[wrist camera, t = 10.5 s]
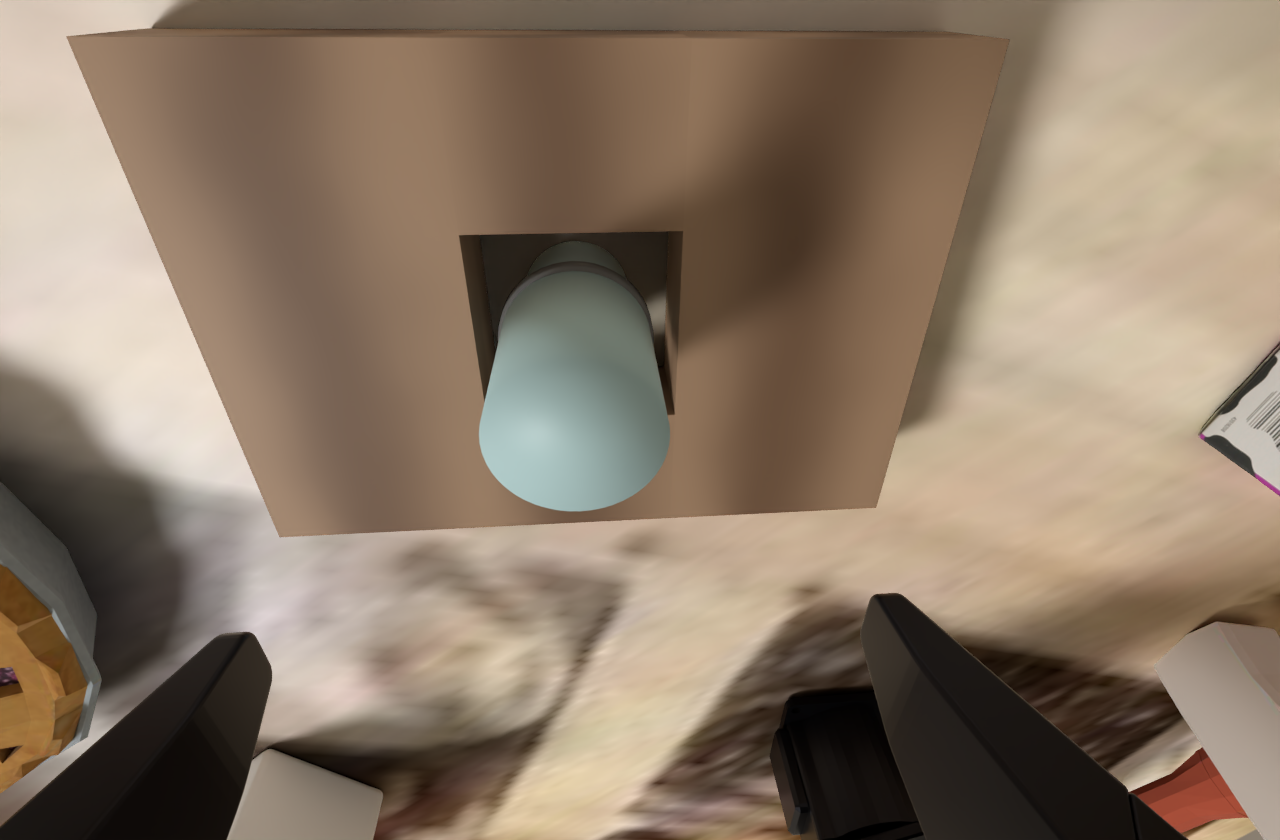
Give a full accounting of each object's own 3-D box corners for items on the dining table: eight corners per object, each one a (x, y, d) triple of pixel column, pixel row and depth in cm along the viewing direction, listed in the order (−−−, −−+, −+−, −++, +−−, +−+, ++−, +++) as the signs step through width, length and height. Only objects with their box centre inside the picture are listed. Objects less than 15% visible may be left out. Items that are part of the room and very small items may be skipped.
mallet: (1006, 981, 45) (1479, 868, 25) (962, 982, 44) (1413, 866, 24) (946, 809, 52) (1271, 620, 33) (907, 807, 52) (1216, 614, 32)
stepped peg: (643, 223, 19) (677, 349, 12) (642, 348, 21) (670, 509, 15) (502, 226, 19) (461, 355, 12) (516, 351, 21) (487, 518, 14)
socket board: (946, 31, 17) (1009, 39, 14) (846, 455, 25) (876, 507, 22) (148, 28, 15) (66, 36, 13) (311, 478, 23) (279, 537, 21)
